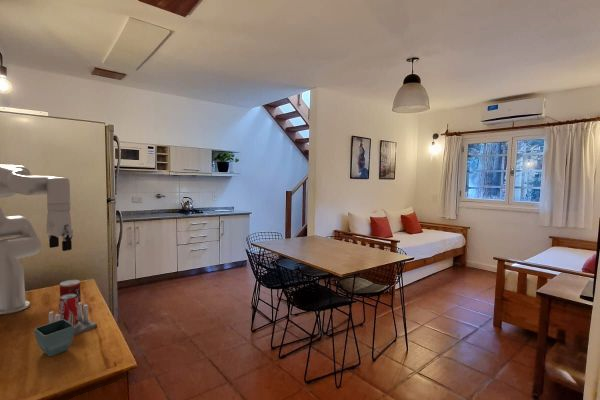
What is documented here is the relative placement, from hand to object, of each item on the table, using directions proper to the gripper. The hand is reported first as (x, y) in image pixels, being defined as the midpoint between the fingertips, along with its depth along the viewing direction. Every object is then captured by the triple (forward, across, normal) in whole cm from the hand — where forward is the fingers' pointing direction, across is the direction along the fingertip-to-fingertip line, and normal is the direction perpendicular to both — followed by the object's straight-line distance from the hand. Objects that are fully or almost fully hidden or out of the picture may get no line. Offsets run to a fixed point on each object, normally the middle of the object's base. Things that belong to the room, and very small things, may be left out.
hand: (60, 248), depth 130 cm
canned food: (+31, -12, +9) cm, 34 cm away
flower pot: (+31, +24, -14) cm, 41 cm away
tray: (+30, +10, -3) cm, 32 cm away
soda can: (+29, +11, -3) cm, 31 cm away
